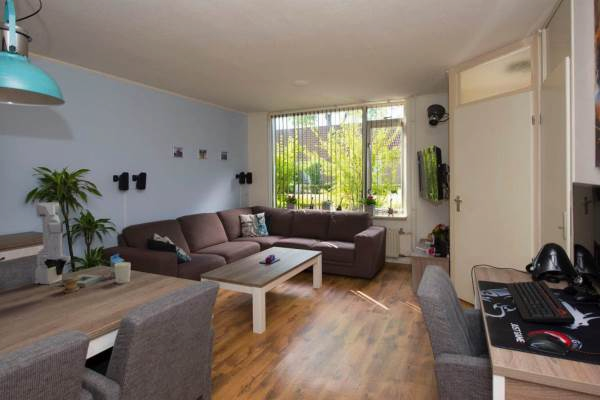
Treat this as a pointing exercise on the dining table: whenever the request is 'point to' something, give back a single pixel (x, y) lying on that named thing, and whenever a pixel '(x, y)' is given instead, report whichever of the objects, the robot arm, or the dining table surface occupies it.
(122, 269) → the white cup
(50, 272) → the tab block
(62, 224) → the robot arm
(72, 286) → the wooden knob
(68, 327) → the dining table surface
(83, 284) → the notched board
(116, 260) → the label tape box
